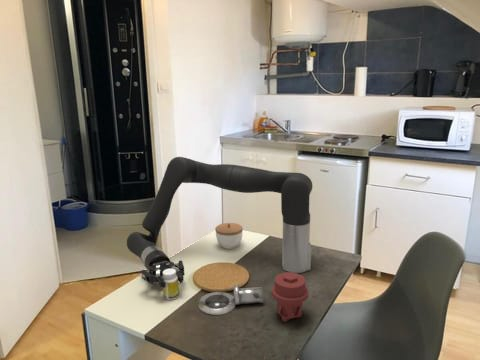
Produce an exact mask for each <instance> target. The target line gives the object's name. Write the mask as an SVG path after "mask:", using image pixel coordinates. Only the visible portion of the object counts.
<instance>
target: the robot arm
mask: <svg viewBox="0 0 480 360" xmlns="http://www.w3.org/2000/svg"><path fill="white" fill-rule="evenodd" d="M182 184H205V185H210V186H213V187H216V188H219V189H223V190H227V191H230V192H234V193H235V192H236V193H246V194H251V193H253V194H254V193H255V194H256V193H263V192H264V193H265V192H266V193H267V192H270V193H271V192H272V193H278V194H280V195H281V196H280V198H281V199H280V203H281V205H280V207H281V216H282V249H281V250H282V253H281V255H282V261H281V263H282V265H281V267H282V269H283V270H284V271H286V272H292V273H297V274H300V273H304V272H307V271H311V267H312V266H311V263H312V262H311V260H312V257H311V256H312V244H311V241H310V239H311V238H310V236H311V235H310V234H311V231H310V230H311V213H310V194H311V193H312V191H313V181H312V179H311V178H310V177H309V176H308V175H307V174H304V173H301V172H285V171H273V170H268V169H263V168H255V167H251V166H250V167H249V166H245V165H244V166H243V165H237V164H230V163H229V164H224V163H223V164H209V163H205V162H201V161H197V160H195V159H191V158H187V157H183V156H175V157H173V158H172V159H171V160H170V161H169V162H168V164H167V166H166V169H165V172H164V175H163V177H162V181H161V183H160V186H159V188H158V191H157V193H156V196H155V198H154V200H153V202H152V204H151V205H150V208H149V209H148V211H147V213H146V214H145V217H144V218H143V220H142V222H141V225H142V227H143V229H144V230H145V231H147V232H148V233H149V234H145V233H142V232H140V231H139V232H138V231H134V232H132V233H131V232H130V234H129V235H128V237H127V239H126V247H127V249H128V250H129V252H131V253H132V254H134V255H135V256H136V257H138V258H139V259H140V261H142V264H143V266H144V267H145V268H146V270H145V269H142V270H141V272H140V273H141V279H143V280H144V281H145V282H147V283H148V284H150V285H154V284H155V283H156V284H157V285H158V286H159V287H160V288H162V289H163V288H165V287H166V284H165V280H164V279H163V271H164V270H166V269H175V270H176V276H177V277H178V283H179V284H182V283H184V281H185V279H184V276H185V266H184V262H183V260H178V262H177V263H175V262H173V261H171V260H170V258H169V257H168V255H166V253H165V252H164V251H163V250H162V248H160V247H158V245H157V242H158V237H159V235H160V231H161V229H162V227H163V225H164V223H165V221H166V220H167V218H168V215H169V213H170V210H171V205H172V201H173V198H174V197H175V194H176V192H177V191H178V189H179V187H180V186H181V185H182Z"/></svg>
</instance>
